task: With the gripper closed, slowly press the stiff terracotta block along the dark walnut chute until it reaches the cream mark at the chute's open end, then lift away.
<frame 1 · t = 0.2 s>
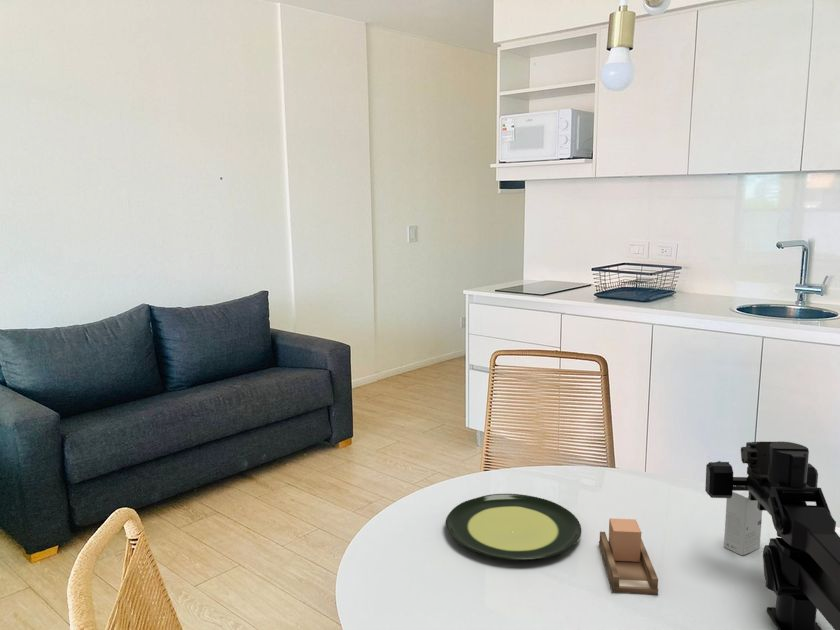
hand: (743, 463, 129), 17 cm above the table, tool horizontal, fingers open, 9 cm apart
skincare box: (741, 548, 131), on the table
stuck block: (624, 539, 126), point 4 cm above the table, slide at 0.0 cm
chute: (626, 568, 124), on the table
plate: (512, 534, 138), on the table
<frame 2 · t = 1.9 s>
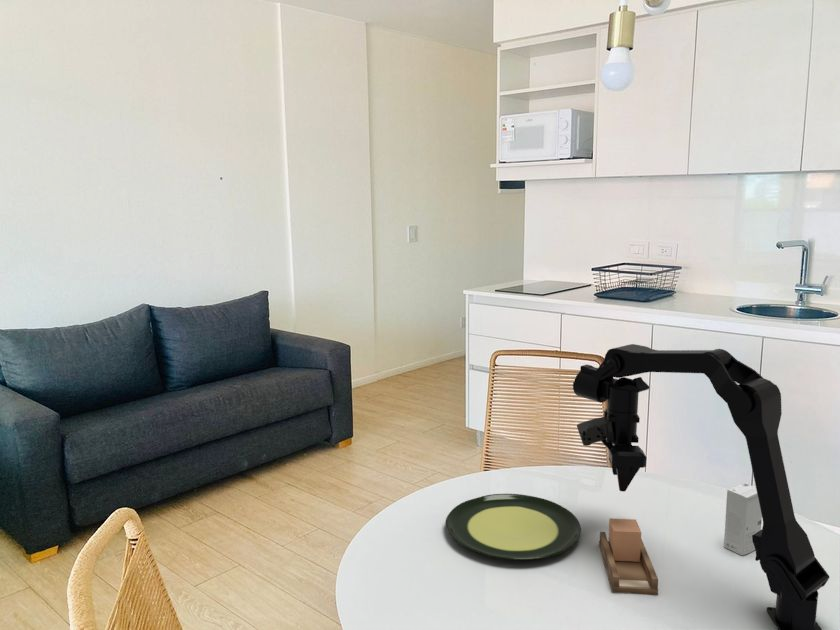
hand: (618, 482, 132), 12 cm above the table, tool pointing down, fingers open, 7 cm apart
nothing on the table moved.
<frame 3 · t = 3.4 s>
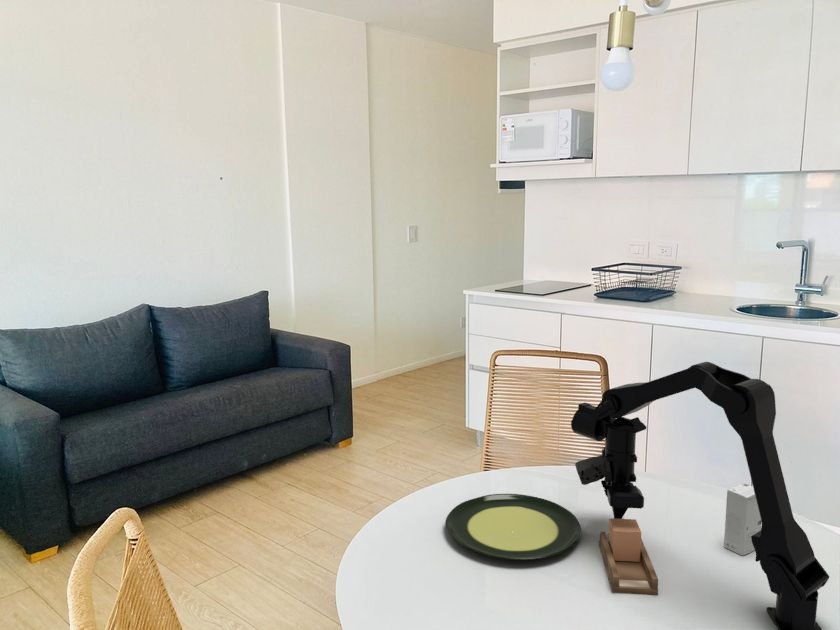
hand: (617, 520, 134), 4 cm above the table, tool pointing down, fingers closed
nothing on the table moved.
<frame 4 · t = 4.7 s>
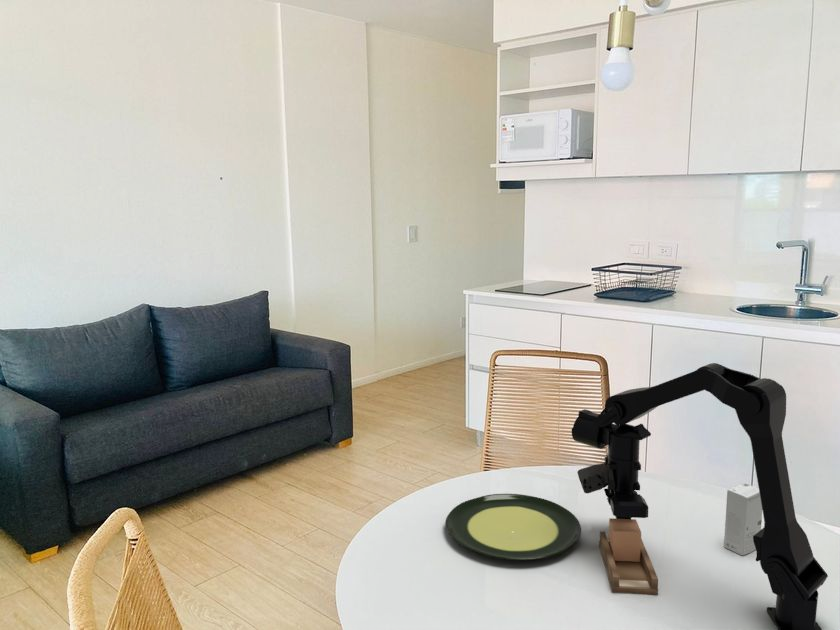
hand: (620, 529, 130), 4 cm above the table, tool pointing down, fingers closed
stuck block: (624, 539, 126), point 4 cm above the table, slide at 0.0 cm, touching gripper
everything else where it was.
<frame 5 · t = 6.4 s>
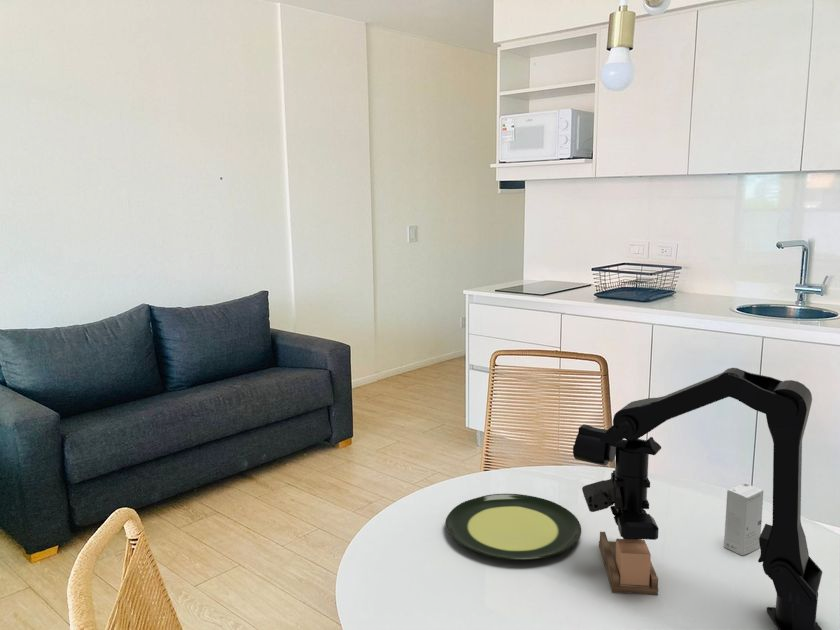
hand: (628, 549, 123), 4 cm above the table, tool pointing down, fingers closed
stuck block: (632, 561, 118), point 4 cm above the table, slide at 7.8 cm, touching gripper
everything else where it was.
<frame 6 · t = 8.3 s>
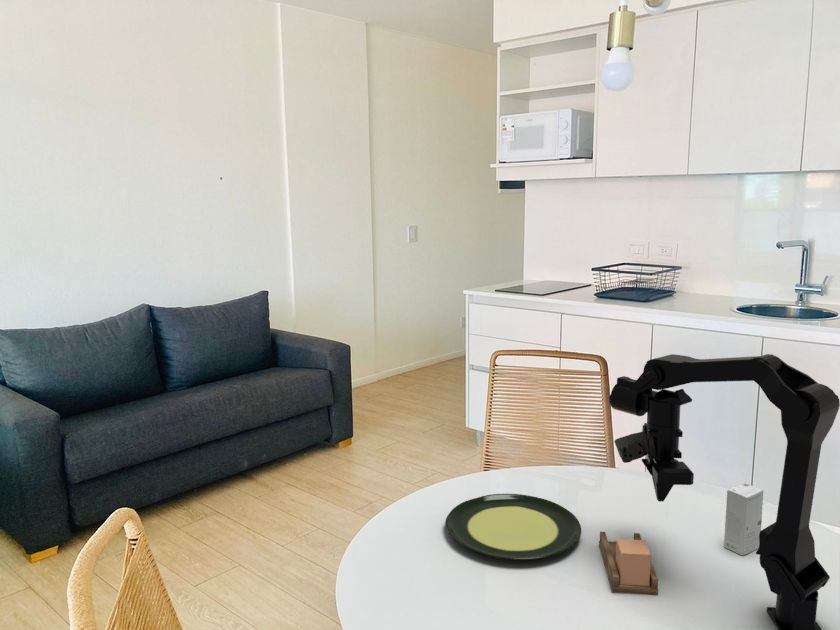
hand: (660, 500, 126), 12 cm above the table, tool pointing down, fingers closed
stuck block: (632, 562, 118), point 4 cm above the table, slide at 7.9 cm
everything else where it was.
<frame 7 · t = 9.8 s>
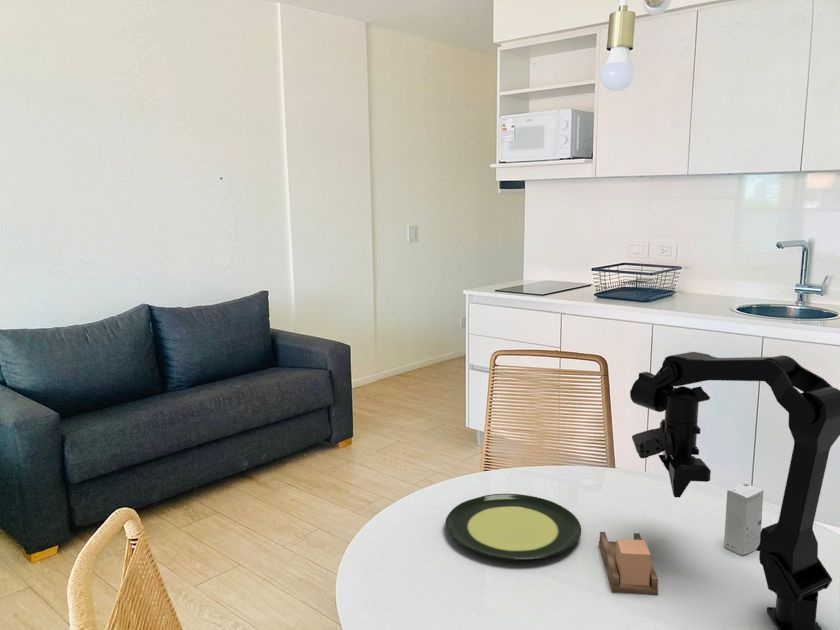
hand: (676, 496, 126), 12 cm above the table, tool pointing down, fingers closed
nothing on the table moved.
at the end: stuck block slide at 7.9 cm; skincare box moved 0.2 cm from its start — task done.
